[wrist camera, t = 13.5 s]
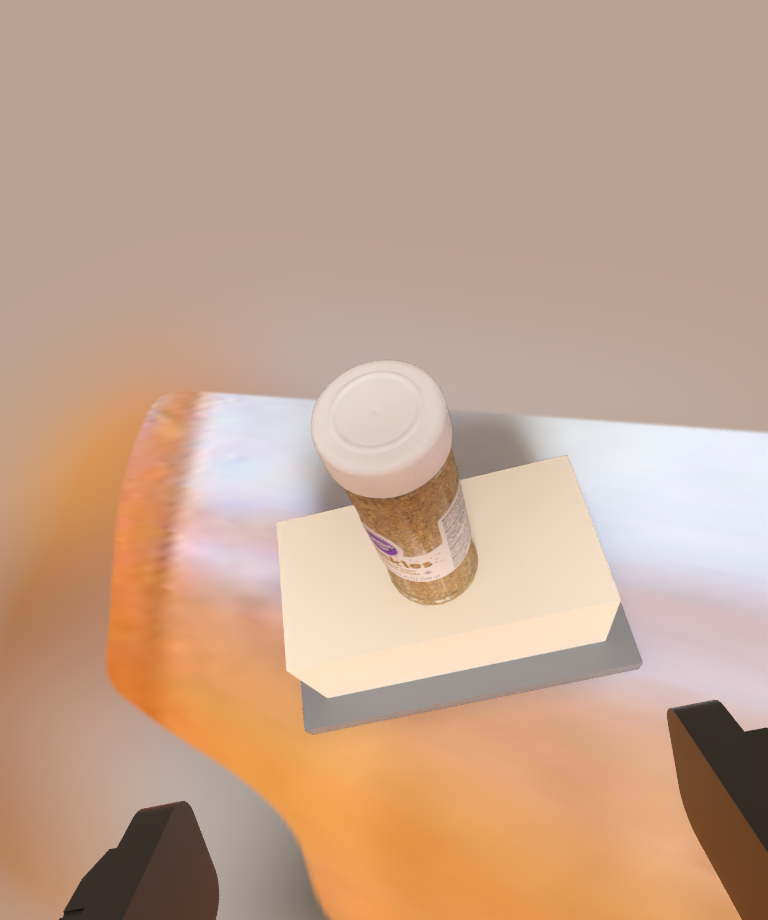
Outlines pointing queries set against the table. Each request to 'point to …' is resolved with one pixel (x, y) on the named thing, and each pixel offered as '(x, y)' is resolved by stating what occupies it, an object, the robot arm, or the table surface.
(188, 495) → the table surface
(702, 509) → the table surface
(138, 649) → the table surface
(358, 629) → the cream and grey block
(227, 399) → the table surface
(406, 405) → the sprinkles bottle
